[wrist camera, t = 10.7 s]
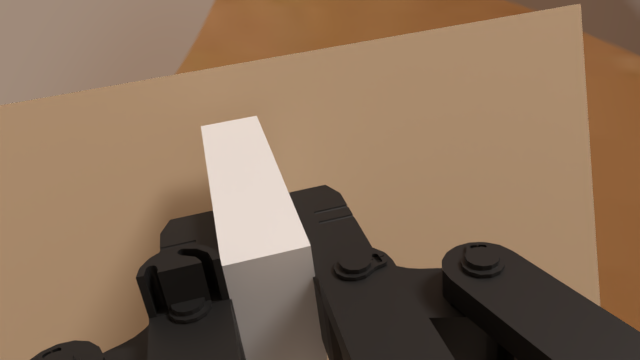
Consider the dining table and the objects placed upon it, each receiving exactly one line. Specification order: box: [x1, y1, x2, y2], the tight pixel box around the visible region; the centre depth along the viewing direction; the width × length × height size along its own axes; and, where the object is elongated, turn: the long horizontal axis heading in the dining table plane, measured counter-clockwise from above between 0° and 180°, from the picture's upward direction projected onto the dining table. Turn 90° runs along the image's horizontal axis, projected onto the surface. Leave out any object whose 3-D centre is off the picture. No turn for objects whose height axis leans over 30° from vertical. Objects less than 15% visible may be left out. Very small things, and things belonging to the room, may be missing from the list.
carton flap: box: [0, 4, 600, 360], centre depth 17 cm, size 22×11×1 cm
